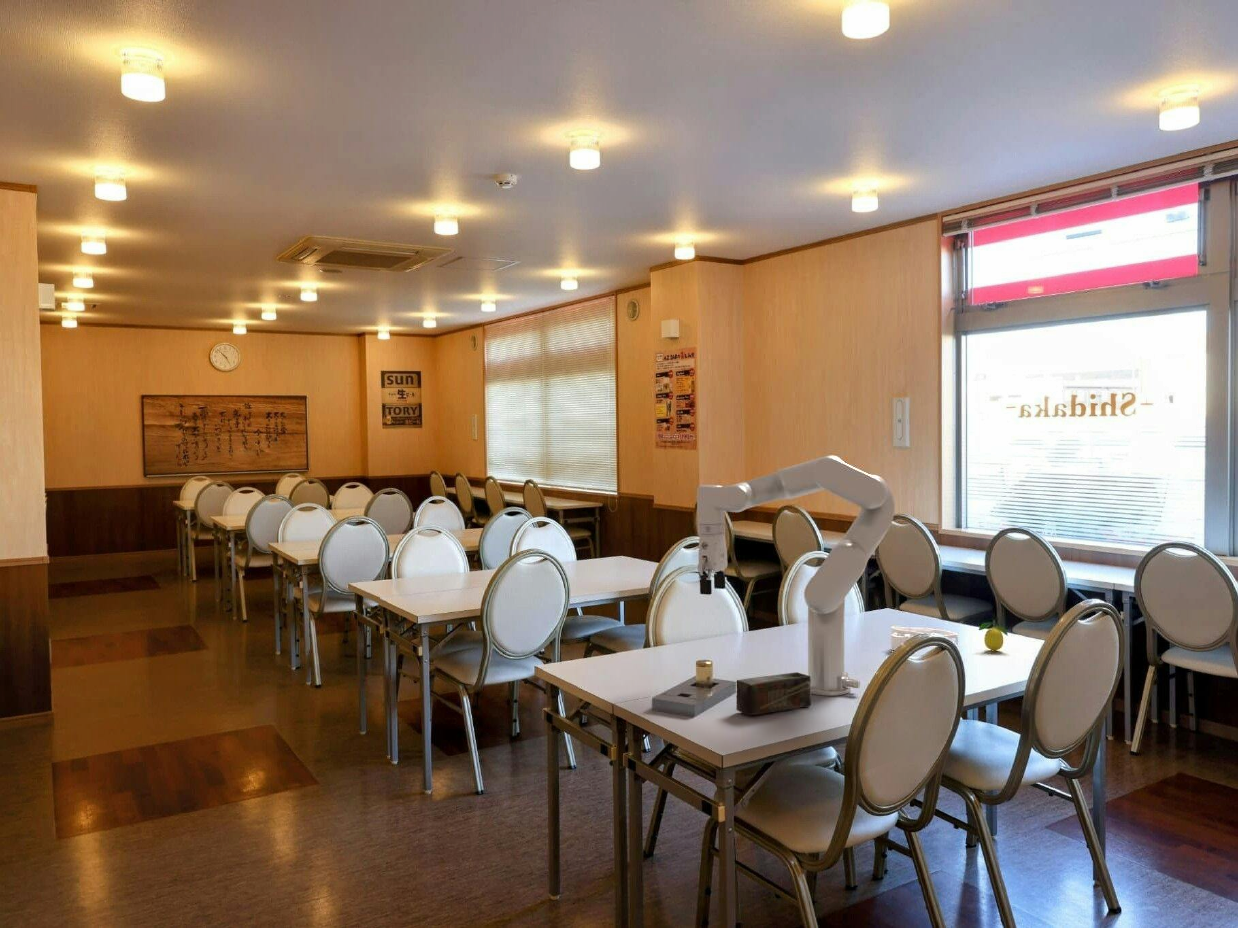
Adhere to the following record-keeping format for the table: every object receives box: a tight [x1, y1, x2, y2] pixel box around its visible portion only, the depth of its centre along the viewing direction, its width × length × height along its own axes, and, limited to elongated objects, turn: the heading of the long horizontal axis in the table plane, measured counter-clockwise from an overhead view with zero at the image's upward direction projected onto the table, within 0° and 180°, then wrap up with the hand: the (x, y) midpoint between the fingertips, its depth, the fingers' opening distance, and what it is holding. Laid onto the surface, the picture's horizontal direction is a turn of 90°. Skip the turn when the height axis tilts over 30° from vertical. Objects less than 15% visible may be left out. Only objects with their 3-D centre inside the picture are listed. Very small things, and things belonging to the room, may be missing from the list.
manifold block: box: [651, 675, 737, 718], centre depth 236 cm, size 12×24×3 cm, turn 148°
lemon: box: [978, 621, 1009, 653], centre depth 283 cm, size 7×6×10 cm
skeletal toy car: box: [890, 626, 959, 651], centre depth 282 cm, size 20×11×7 cm, turn 43°
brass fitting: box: [695, 659, 714, 689], centre depth 241 cm, size 4×4×9 cm
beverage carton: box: [736, 672, 812, 716], centre depth 227 cm, size 8×19×7 cm
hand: (712, 591), depth 253 cm, fingers open, 9 cm apart
